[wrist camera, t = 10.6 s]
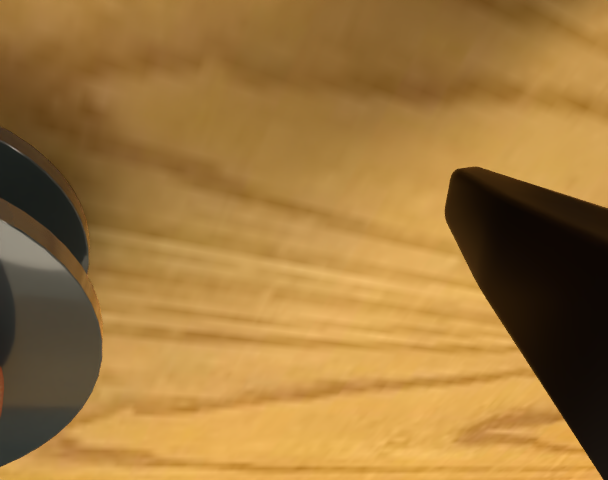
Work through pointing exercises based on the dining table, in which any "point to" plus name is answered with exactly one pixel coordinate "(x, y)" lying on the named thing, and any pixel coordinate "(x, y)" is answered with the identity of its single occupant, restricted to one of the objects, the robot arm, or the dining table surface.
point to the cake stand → (42, 301)
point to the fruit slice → (1, 389)
